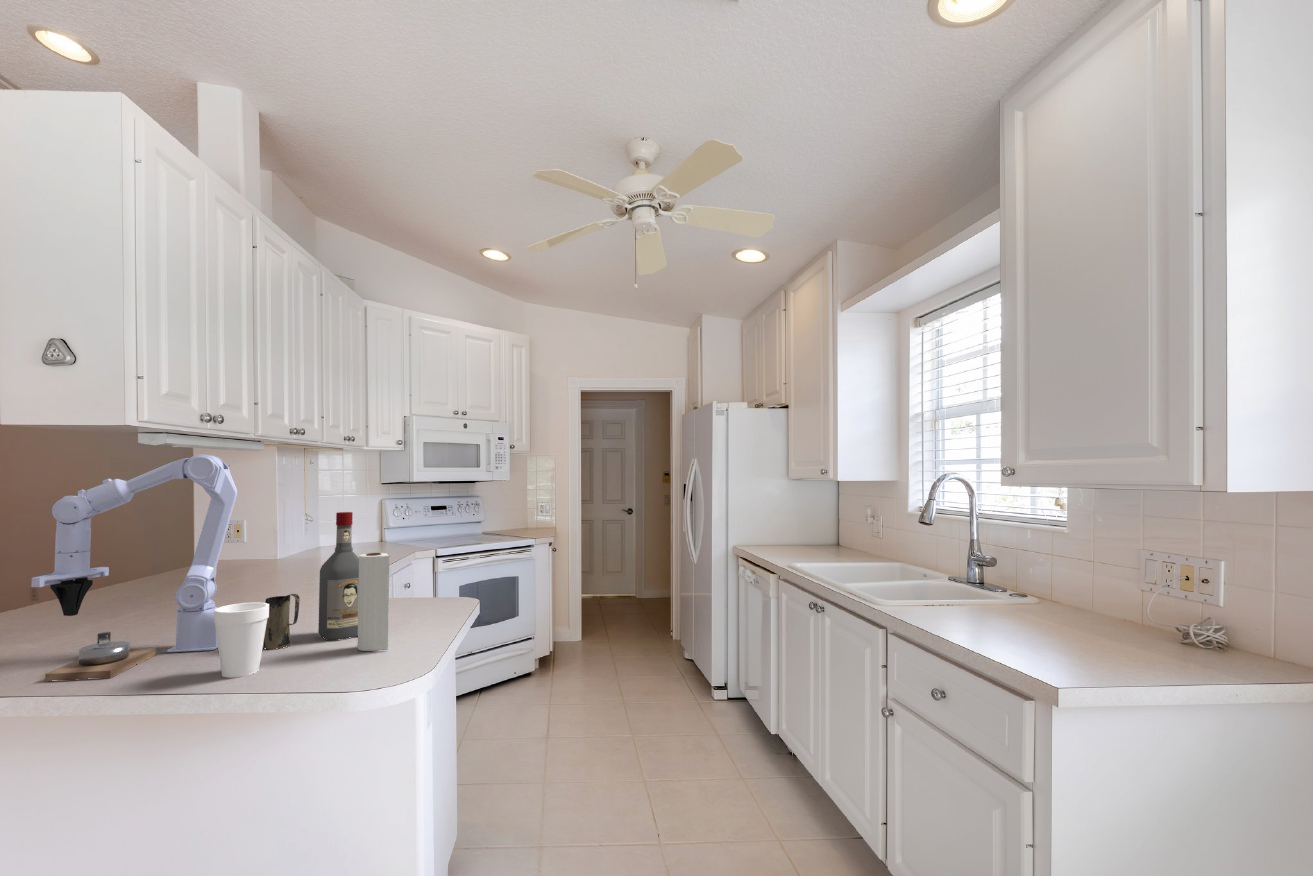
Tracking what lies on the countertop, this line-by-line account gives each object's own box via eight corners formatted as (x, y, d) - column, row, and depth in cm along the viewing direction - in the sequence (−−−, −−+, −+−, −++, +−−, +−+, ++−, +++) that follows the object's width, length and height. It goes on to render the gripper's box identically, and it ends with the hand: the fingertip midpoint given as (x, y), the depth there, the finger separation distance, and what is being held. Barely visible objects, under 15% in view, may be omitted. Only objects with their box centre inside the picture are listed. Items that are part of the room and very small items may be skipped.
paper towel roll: (356, 646, 150) (358, 553, 151) (385, 643, 153) (386, 551, 154) (358, 654, 144) (360, 556, 145) (388, 651, 147) (389, 555, 148)
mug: (256, 649, 148) (257, 595, 149) (274, 642, 154) (275, 591, 154) (288, 650, 147) (289, 596, 147) (304, 644, 152) (306, 592, 153)
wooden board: (155, 655, 144) (156, 647, 144) (110, 678, 128) (110, 669, 128) (98, 658, 141) (98, 650, 141) (44, 682, 126) (45, 673, 126)
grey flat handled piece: (130, 659, 134) (130, 643, 134) (78, 667, 129) (78, 650, 129) (127, 644, 146) (127, 629, 146) (79, 650, 140) (79, 635, 141)
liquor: (315, 635, 160) (318, 512, 161) (353, 628, 167) (356, 510, 168) (329, 642, 154) (332, 514, 155) (368, 635, 160) (370, 512, 162)
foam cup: (204, 682, 126) (206, 613, 126) (221, 667, 135) (223, 604, 135) (260, 677, 128) (262, 610, 129) (273, 663, 137) (275, 601, 138)
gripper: (90, 547, 149) (88, 607, 149) (20, 555, 135) (17, 622, 134) (117, 547, 148) (115, 608, 147) (49, 556, 134) (46, 623, 133)
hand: (70, 615), depth 141 cm, fingers closed
